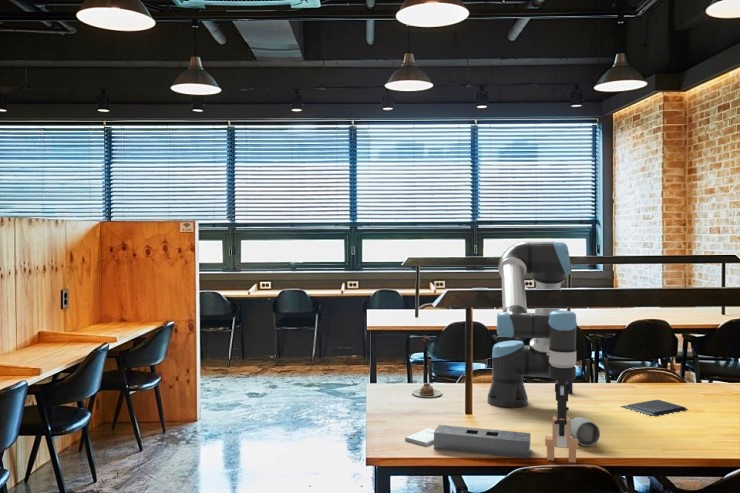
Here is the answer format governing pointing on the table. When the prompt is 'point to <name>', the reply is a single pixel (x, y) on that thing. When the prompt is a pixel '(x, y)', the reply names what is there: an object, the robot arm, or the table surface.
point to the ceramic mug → (584, 431)
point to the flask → (569, 386)
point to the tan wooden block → (552, 442)
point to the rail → (482, 441)
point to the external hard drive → (422, 437)
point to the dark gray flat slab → (655, 407)
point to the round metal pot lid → (427, 391)
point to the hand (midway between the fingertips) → (561, 439)
